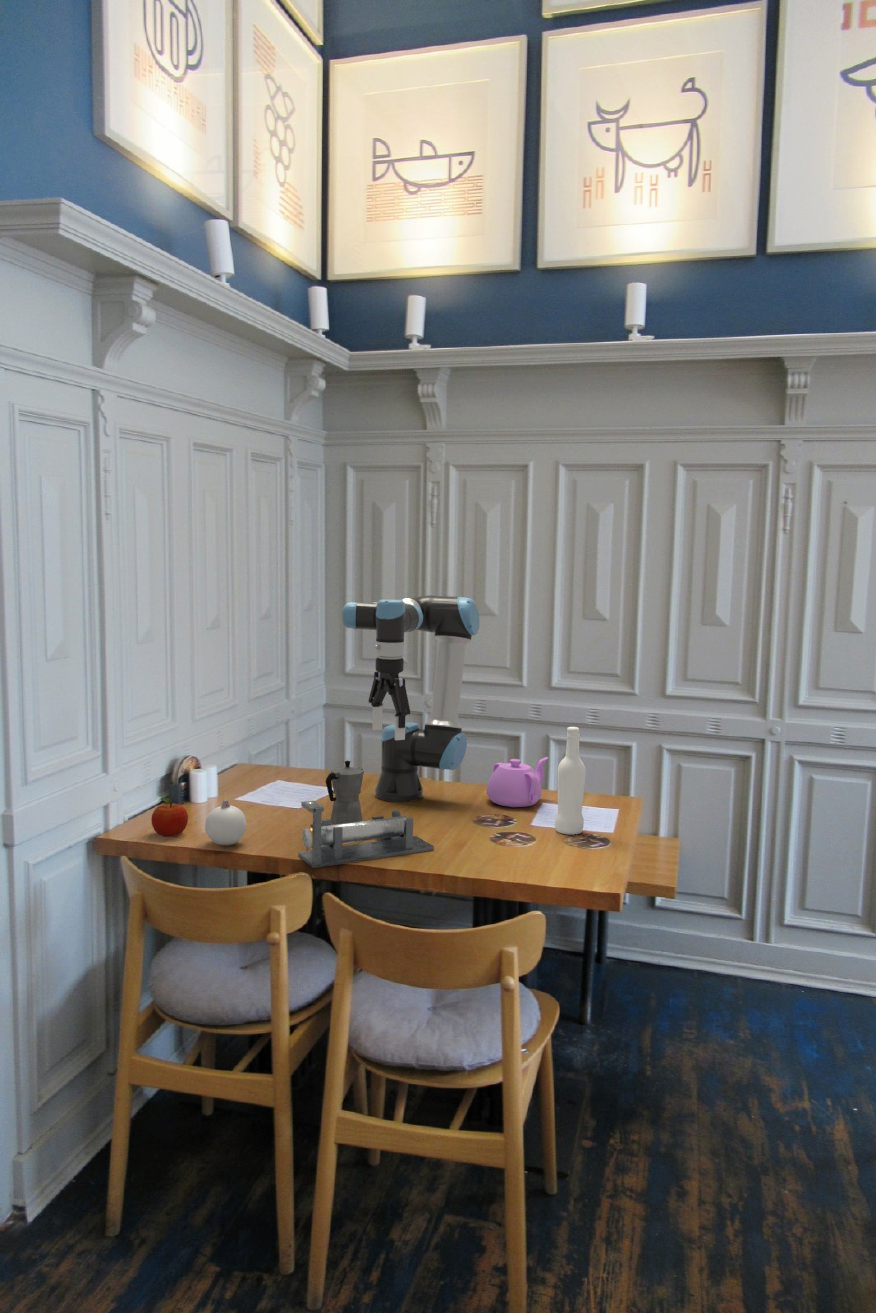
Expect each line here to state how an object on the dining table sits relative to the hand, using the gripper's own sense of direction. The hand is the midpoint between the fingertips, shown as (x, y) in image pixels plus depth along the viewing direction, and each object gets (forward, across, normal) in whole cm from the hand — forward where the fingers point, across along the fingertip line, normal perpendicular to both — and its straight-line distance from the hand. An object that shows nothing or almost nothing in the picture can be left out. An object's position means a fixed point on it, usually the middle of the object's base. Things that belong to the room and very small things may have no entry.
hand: (388, 734), depth 258 cm
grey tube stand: (+28, +12, -12) cm, 32 cm away
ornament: (+28, -10, -42) cm, 51 cm away
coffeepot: (+28, -15, -6) cm, 33 cm away
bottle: (+29, +18, +49) cm, 59 cm away
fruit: (+28, -24, -53) cm, 65 cm away
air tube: (+24, +12, -14) cm, 31 cm away
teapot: (+29, -14, +54) cm, 63 cm away
